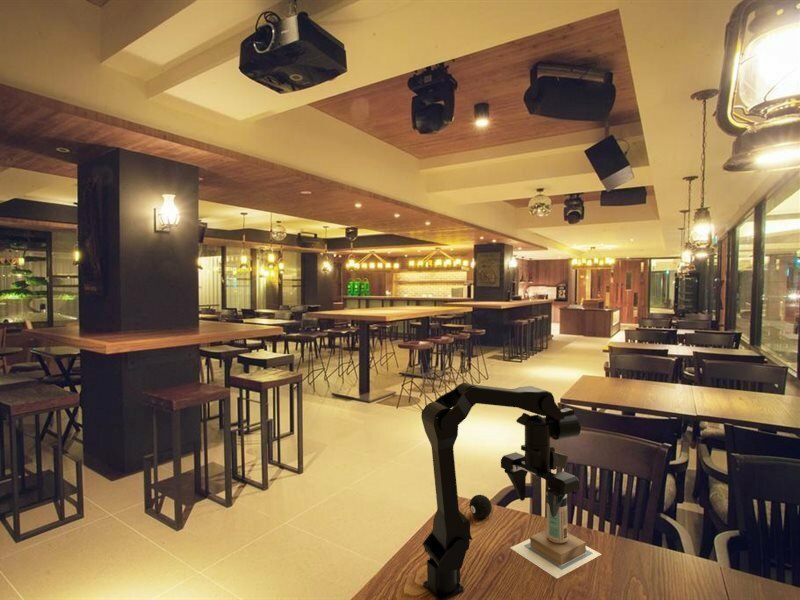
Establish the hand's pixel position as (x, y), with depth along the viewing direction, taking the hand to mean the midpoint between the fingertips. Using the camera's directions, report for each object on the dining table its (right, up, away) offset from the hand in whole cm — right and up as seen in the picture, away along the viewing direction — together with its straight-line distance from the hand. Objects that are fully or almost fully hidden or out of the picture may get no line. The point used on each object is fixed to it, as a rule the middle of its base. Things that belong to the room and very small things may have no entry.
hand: (537, 508), depth 104 cm
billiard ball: (-10, -13, +21) cm, 26 cm away
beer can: (+6, -10, +4) cm, 12 cm away
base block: (+6, -12, +4) cm, 14 cm away
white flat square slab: (+5, -13, +3) cm, 14 cm away
